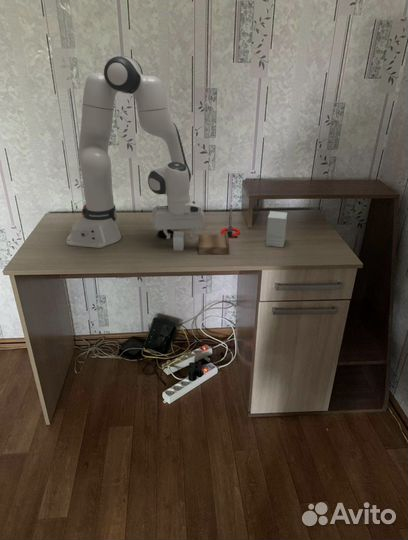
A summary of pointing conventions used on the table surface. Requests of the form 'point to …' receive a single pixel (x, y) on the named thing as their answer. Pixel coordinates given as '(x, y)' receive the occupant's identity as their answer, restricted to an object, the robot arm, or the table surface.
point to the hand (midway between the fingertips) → (180, 238)
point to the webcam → (163, 235)
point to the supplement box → (276, 229)
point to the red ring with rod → (230, 227)
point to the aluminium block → (178, 240)
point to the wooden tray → (214, 244)
